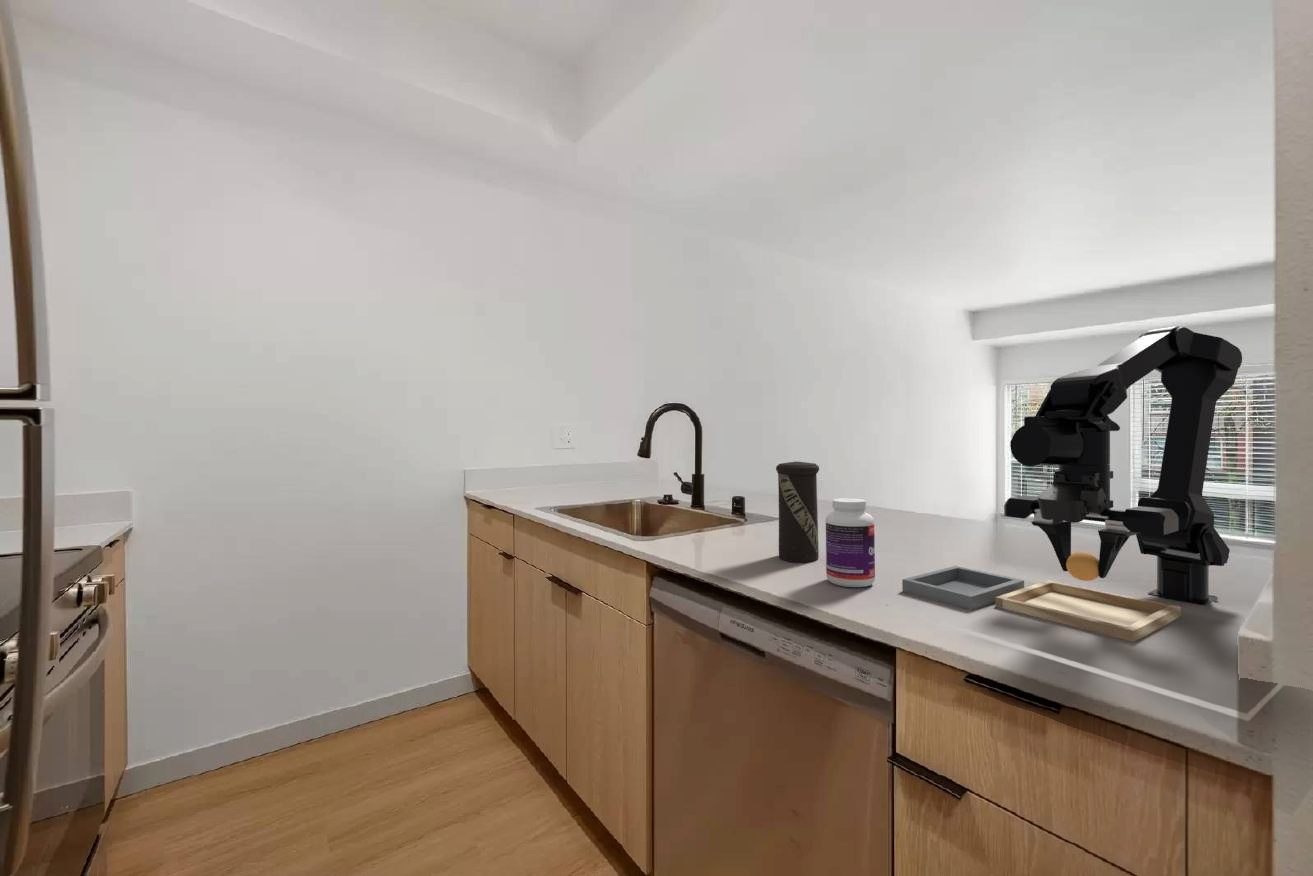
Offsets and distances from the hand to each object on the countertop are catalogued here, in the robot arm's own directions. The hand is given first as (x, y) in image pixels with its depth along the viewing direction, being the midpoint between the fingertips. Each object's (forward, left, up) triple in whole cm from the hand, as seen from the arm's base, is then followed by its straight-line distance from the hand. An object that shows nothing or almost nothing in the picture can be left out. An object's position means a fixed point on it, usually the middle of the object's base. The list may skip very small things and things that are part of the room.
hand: (1083, 574), depth 77 cm
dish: (0, 0, -6) cm, 6 cm away
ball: (0, 0, -1) cm, 1 cm away
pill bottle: (+14, -29, -6) cm, 33 cm away
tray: (+5, -14, -6) cm, 16 cm away
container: (+8, -47, -6) cm, 48 cm away
